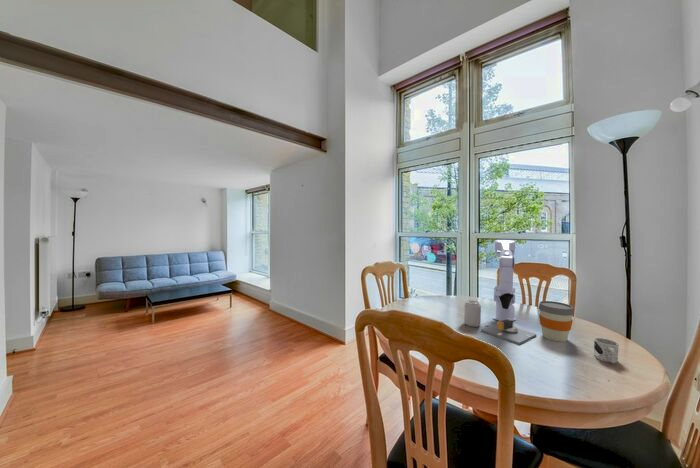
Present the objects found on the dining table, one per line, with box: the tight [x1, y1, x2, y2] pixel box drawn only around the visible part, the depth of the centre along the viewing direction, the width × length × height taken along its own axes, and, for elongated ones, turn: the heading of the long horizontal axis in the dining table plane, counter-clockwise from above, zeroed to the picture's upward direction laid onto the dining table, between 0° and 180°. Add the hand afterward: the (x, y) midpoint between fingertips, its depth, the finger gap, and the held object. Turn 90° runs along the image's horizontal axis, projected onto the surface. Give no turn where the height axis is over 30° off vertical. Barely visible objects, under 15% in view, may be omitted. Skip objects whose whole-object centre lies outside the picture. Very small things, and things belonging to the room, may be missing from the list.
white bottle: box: [463, 299, 482, 328], centre depth 134 cm, size 8×8×12 cm
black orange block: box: [496, 318, 519, 333], centre depth 124 cm, size 11×7×5 cm, turn 115°
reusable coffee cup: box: [538, 300, 574, 343], centre depth 119 cm, size 13×12×15 cm
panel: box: [480, 322, 537, 346], centre depth 123 cm, size 16×17×1 cm
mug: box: [593, 337, 619, 364], centre depth 99 cm, size 10×7×7 cm
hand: (505, 308), depth 128 cm, fingers closed
